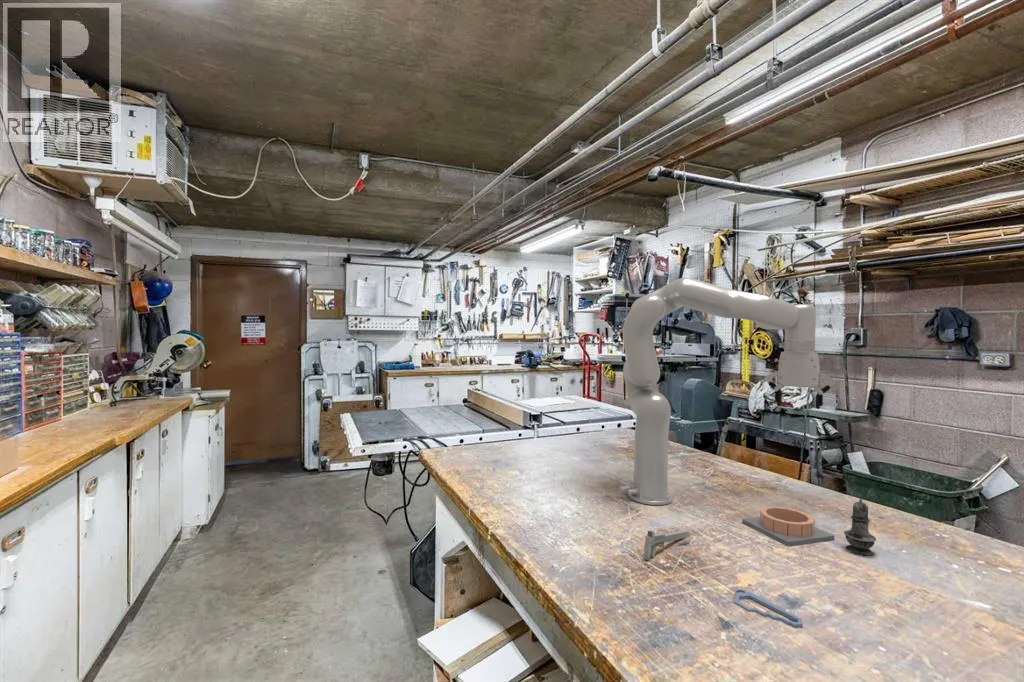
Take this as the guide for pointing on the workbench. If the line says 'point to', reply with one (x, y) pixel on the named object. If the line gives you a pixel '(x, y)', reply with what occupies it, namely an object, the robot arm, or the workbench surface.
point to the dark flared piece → (860, 531)
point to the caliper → (660, 541)
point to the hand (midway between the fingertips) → (798, 406)
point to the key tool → (774, 607)
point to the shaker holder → (787, 526)
